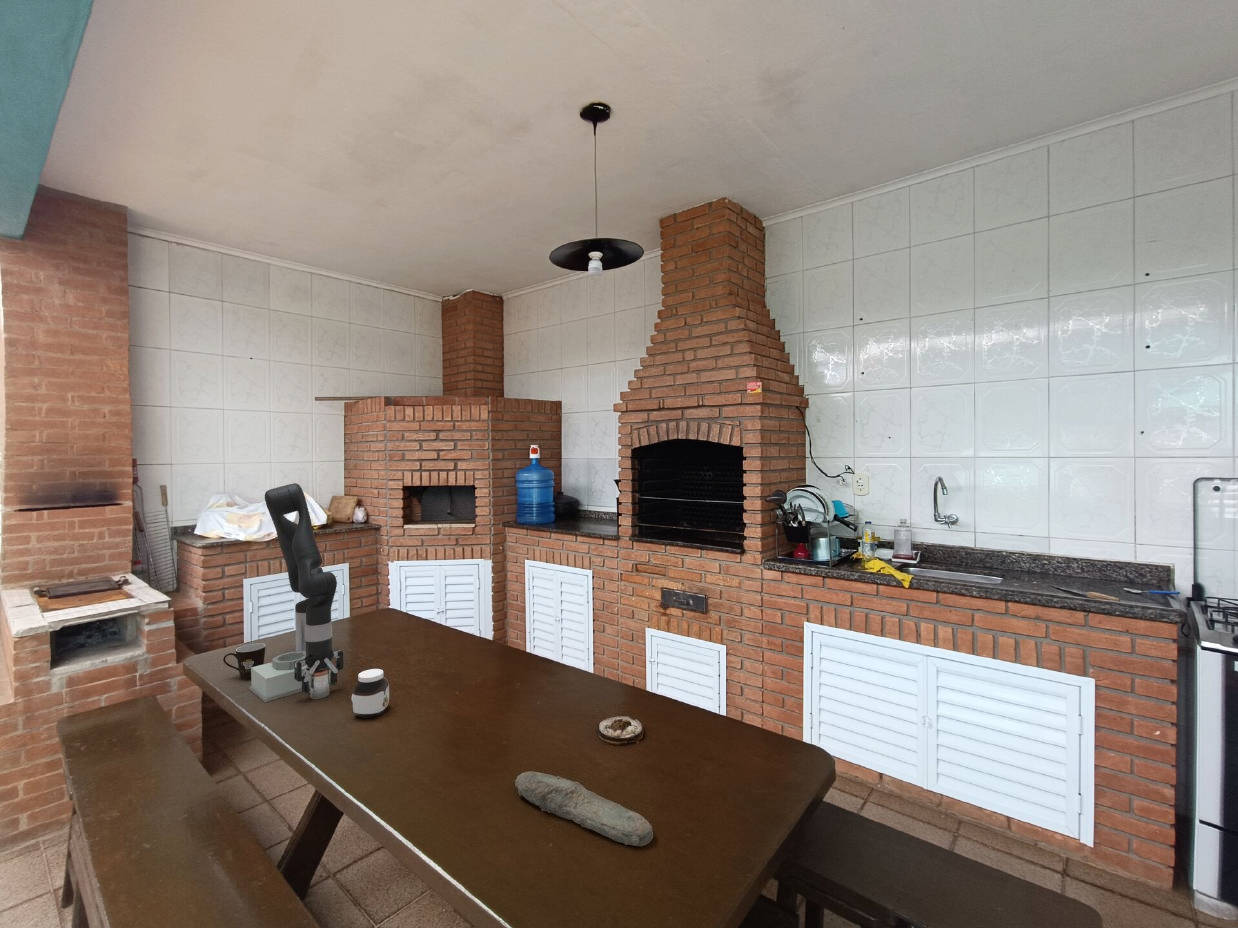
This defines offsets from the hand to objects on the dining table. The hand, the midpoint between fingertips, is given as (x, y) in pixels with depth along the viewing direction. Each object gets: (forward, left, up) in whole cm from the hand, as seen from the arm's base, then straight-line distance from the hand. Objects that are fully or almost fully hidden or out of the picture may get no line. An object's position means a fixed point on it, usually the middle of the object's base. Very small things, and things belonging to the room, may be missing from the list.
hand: (319, 688), depth 179 cm
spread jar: (-5, +22, -2) cm, 23 cm away
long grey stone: (-12, +103, -3) cm, 104 cm away
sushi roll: (-43, +88, -3) cm, 98 cm away
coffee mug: (+10, -35, -2) cm, 36 cm away
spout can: (0, 0, -2) cm, 2 cm away
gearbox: (+3, -15, -2) cm, 15 cm away
